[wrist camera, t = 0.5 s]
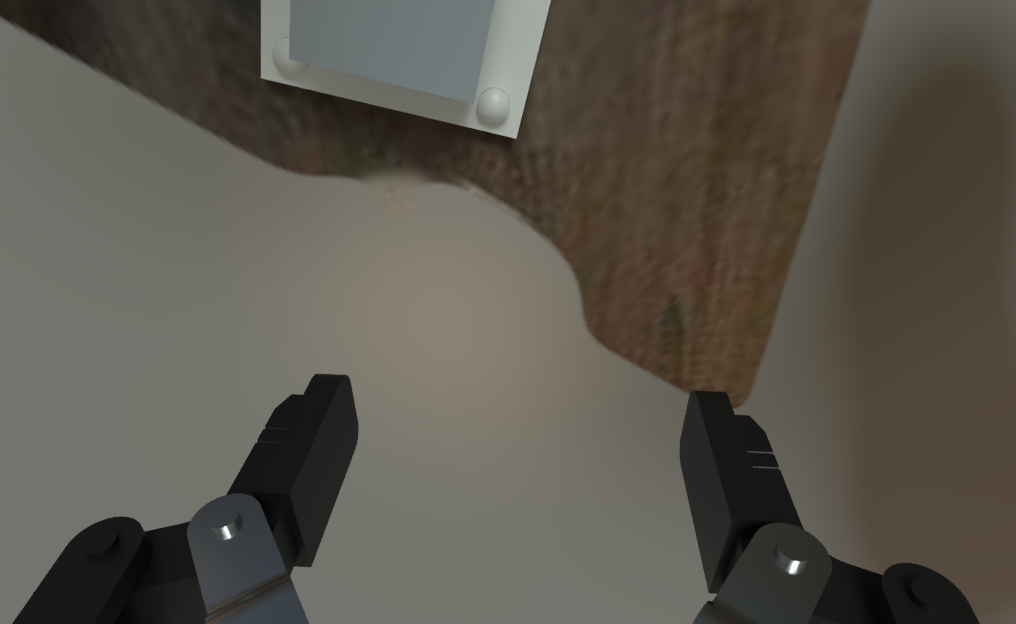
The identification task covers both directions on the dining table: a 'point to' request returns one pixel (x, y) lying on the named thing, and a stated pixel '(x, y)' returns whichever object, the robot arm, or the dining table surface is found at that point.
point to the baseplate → (489, 91)
